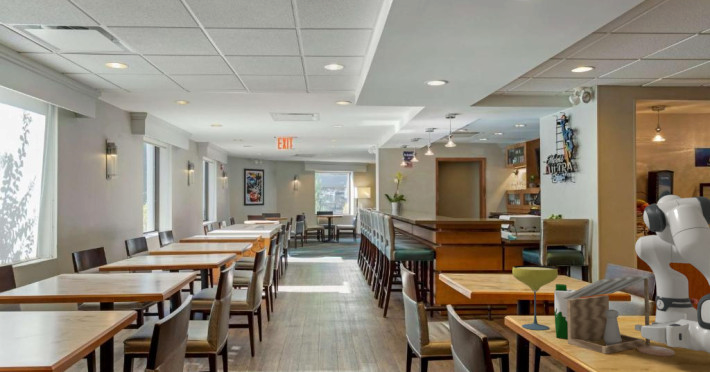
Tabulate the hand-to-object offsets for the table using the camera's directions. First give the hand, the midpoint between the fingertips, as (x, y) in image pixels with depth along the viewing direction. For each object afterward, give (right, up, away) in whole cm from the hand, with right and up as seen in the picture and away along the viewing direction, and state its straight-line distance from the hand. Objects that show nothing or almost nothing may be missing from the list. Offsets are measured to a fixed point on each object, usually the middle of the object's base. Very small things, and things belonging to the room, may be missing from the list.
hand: (644, 325), depth 173 cm
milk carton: (-16, -11, +24) cm, 31 cm away
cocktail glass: (-23, -12, +41) cm, 48 cm away
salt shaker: (-6, -11, +10) cm, 16 cm away
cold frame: (-7, -10, +13) cm, 18 cm away
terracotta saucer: (+6, -10, +3) cm, 12 cm away
